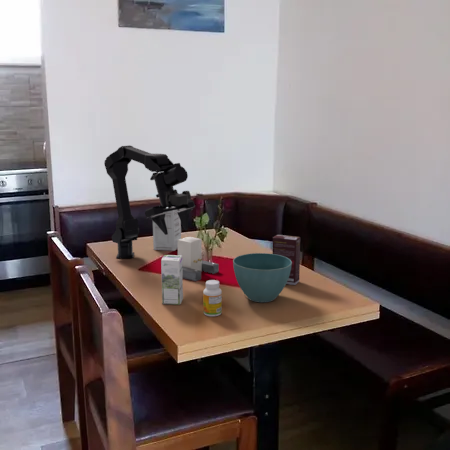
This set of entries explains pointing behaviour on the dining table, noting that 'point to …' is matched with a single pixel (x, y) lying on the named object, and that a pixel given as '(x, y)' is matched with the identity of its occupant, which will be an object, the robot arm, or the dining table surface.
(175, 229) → the supplement box
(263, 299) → the teal bowl
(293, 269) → the supplement box
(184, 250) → the plug
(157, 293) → the dining table surface
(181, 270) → the syrup box
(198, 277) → the housing
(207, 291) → the supplement bottle
